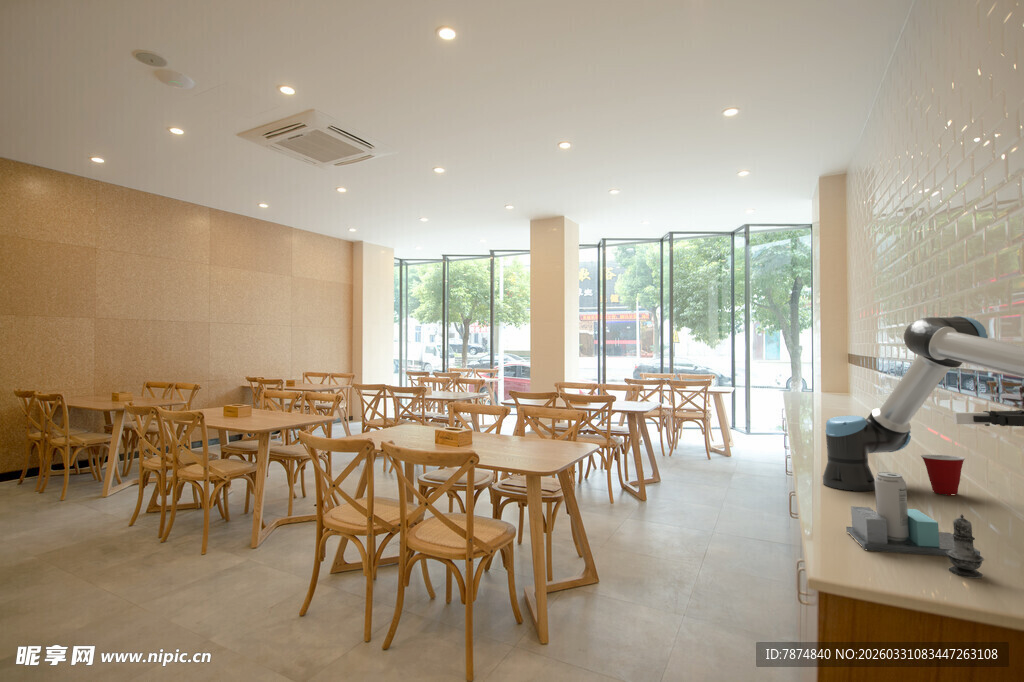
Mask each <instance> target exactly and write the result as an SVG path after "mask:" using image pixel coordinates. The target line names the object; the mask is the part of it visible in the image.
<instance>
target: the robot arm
mask: <svg viewBox="0 0 1024 682" xmlns="http://www.w3.org/2000/svg"><path fill="white" fill-rule="evenodd" d="M904 331H905V332H904V335H903V341H904V345H906V346H905V347H906V348H907V349H908V350H909V351H911V352H912V353H913V354H916V355H917V356H916V358H915V360H914V361H913V362H912V364H910V366H909V368H908V369H907V370H906V372H905V373H904V375H903V376H902V377H901V379H900V381H899V382H898V383H897V384H896V385H895V387H894V389H892V392H891V393H890V395H889V396H888V398H886V400H885V402H884V403H883V404H882V406H881V407H876V408H873V410H872V411H871V412H870V414H869V415H868V417H867V418H865V417H864V416H861V415H840V416H838V415H837V416H834V417H831V418H829V419H828V420H826V423H825V439H826V441H825V442H826V451H827V452H826V453H827V454H826V455H827V463H826V465H825V469H824V471H823V475H822V484H823V485H824V484H825V485H824V486H826V485H827V487H829V488H833V489H837V488H838V490H843V489H844V491H851V490H853V491H855V492H869V491H870V492H871V491H875V479H876V478H875V477H874V474H873V473H872V469H871V467H870V465H869V455H868V454H882V453H893V452H897V451H901V450H903V449H904V448H906V447H907V446H908V445H909V443H910V441H911V438H912V436H911V435H910V434H911V433H912V432H911V429H912V426H911V423H910V421H911V420H912V419H913V417H914V416H915V415H916V414H917V412H918V411H919V410H920V408H921V407H922V406H923V404H924V403H925V402H926V400H927V399H928V398H929V396H930V395H931V394H932V393H933V391H934V390H935V389H936V387H938V385H939V384H940V383H941V381H942V380H943V378H945V376H946V374H947V373H948V372H949V371H950V370H951V369H959V368H960V367H961V365H963V363H965V364H968V365H972V366H975V367H980V368H984V369H988V370H992V371H996V372H1000V373H1003V374H1007V375H1011V376H1015V377H1019V378H1021V379H1022V378H1023V379H1024V345H1021V344H1016V343H1015V344H1014V343H1011V342H1008V341H1007V342H1006V341H1000V340H997V339H992V338H988V337H989V336H988V333H987V329H986V327H985V326H984V325H983V324H982V322H980V321H979V320H977V319H974V318H972V317H968V316H967V317H966V316H958V315H955V316H948V317H946V316H945V317H943V316H942V317H941V316H940V317H939V316H938V317H937V316H936V317H933V316H932V317H929V316H927V317H922V318H919V319H917V320H914V321H913V322H911V323H910V324H909V325H908V326H907V327H906V329H905V330H904ZM952 422H953V424H955V425H984V426H986V427H990V424H991V425H994V426H997V425H999V426H1001V427H1005V426H1006V427H1024V410H1023V409H1017V410H997V411H996V410H990V411H989V410H985V411H984V410H983V411H981V412H978V411H976V412H975V411H973V412H971V411H969V412H968V411H964V412H963V411H961V412H960V411H959V412H957V411H955V412H954V411H952ZM853 491H852V492H853Z"/></svg>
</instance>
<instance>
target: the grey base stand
mask: <svg viewBox="0 0 1024 682" xmlns="http://www.w3.org/2000/svg"><path fill="white" fill-rule="evenodd" d="M850 514H851V526H846V527H845V528H846V533H847V532H849V533H850V534H851V535H852V536H853V537H854V538H855V539H856V540H857V541H858V542H859V543H860V544H861V545H862V547H863V548H864V549H867V550H866V551H868V550H875V551H874V552H883V551H886V552H887V551H888V552H887V553H897V552H900V553H899V554H901V553H902V554H912V553H913V554H915V555H928V556H929V555H930V556H939V557H941V556H942V557H944V556H945V557H948V555H947V554H946V551H948V550H952V549H953V548H954V537H953V536H952V534H953V533H952V532H947V531H945V532H941V531H939V546H940V547H931V546H918V545H917V544H916V543H914V542H913V541H912V540H910V539H909V538H908V537H907V538H906V540H904V541H895V540H889V539H887V524H886V519H884V518H883V517H882V516H880V515H879V514H878V513H877V511H876V510H873V509H872V507H869V506H854V505H853V506H850ZM862 547H861V548H862ZM863 548H862V549H863ZM864 549H863V550H864ZM974 551H975V553H976V554H978V555H980V556H981V551H980V550H978V549H977V548H975V547H974ZM886 552H885V553H886Z"/></svg>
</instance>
